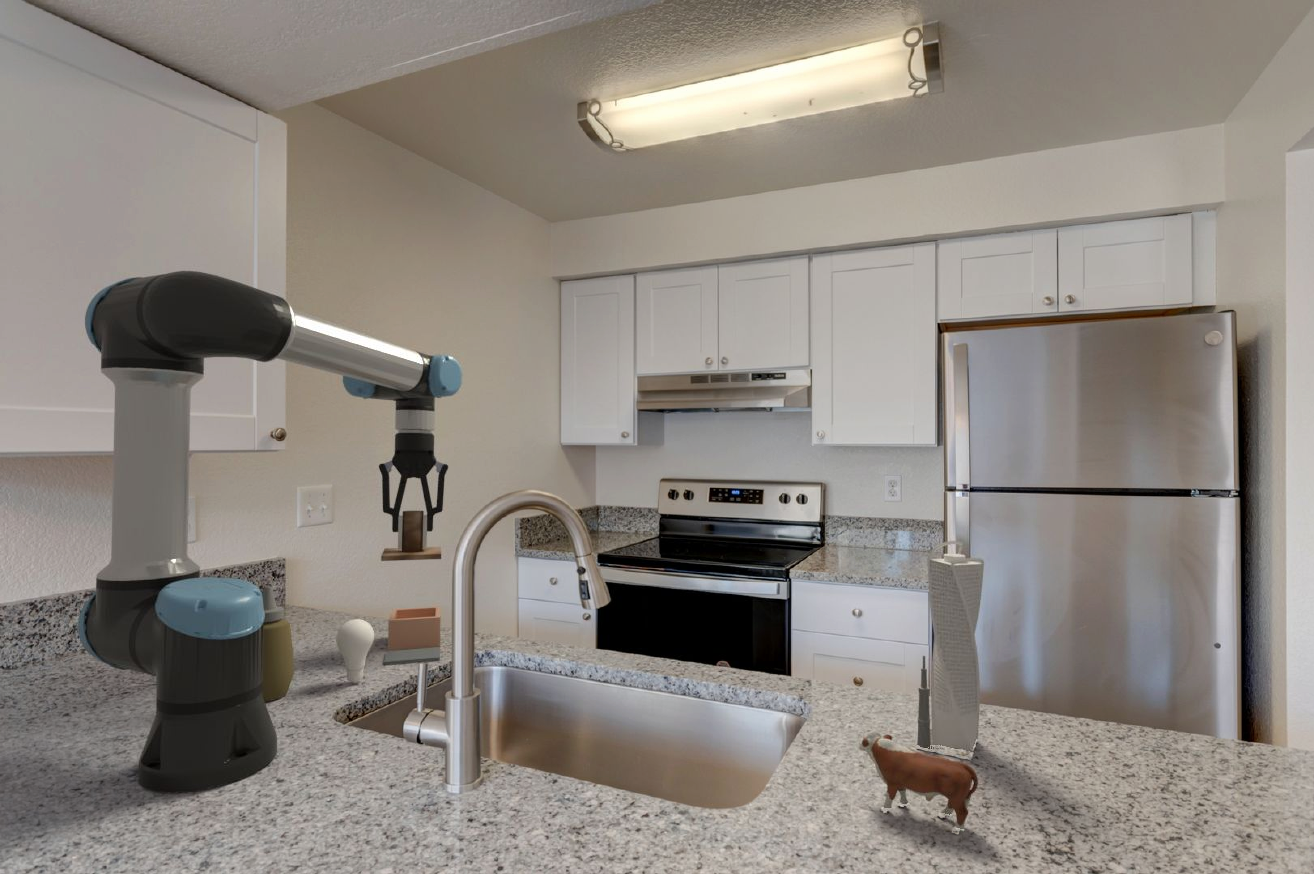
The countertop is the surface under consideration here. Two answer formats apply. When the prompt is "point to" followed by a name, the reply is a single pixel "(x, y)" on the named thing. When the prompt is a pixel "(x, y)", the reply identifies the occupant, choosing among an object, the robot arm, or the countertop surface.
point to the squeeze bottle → (276, 649)
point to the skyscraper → (952, 653)
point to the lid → (411, 541)
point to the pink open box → (414, 628)
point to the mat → (412, 656)
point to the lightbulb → (355, 646)
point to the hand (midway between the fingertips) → (412, 547)
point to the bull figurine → (920, 774)
